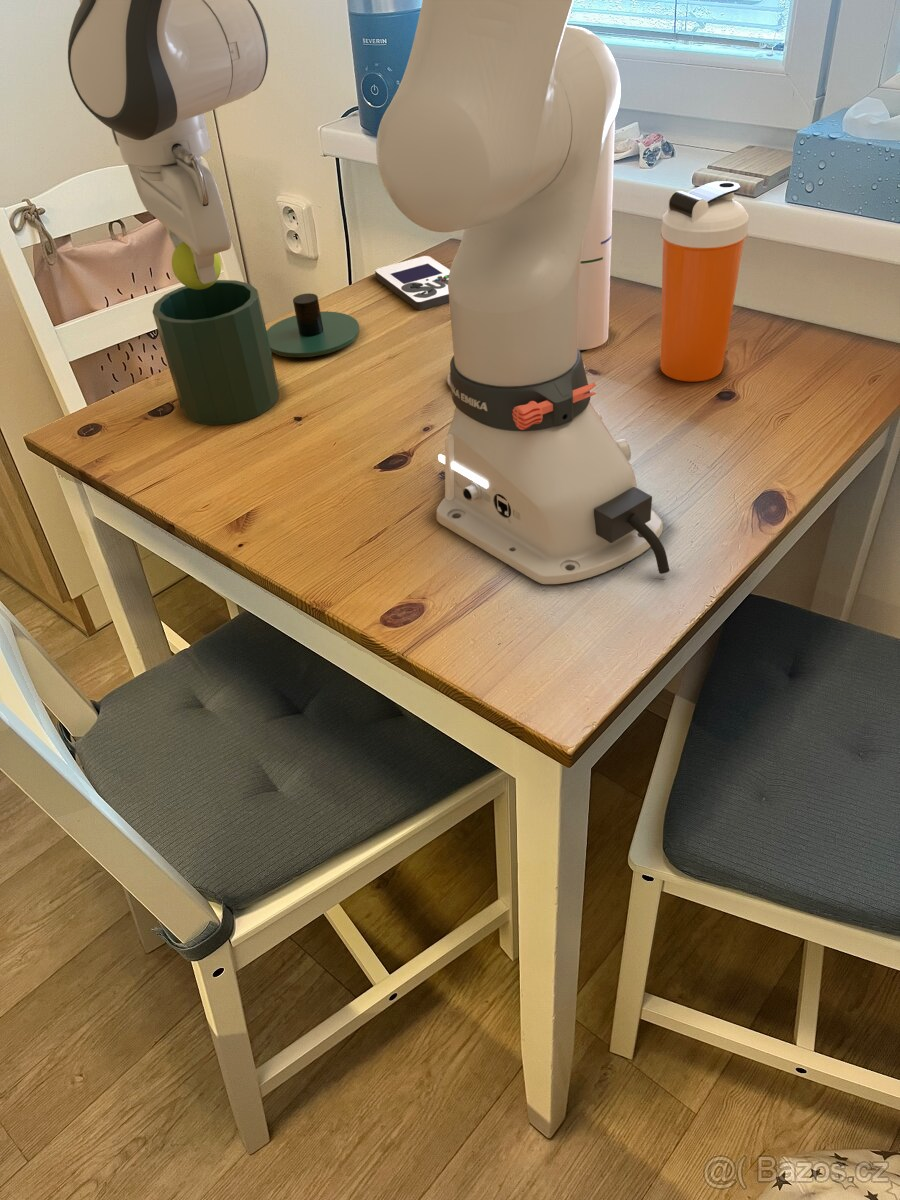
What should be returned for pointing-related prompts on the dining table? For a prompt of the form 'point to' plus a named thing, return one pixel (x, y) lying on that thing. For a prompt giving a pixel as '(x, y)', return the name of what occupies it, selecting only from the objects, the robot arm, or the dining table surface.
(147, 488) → the dining table surface
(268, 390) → the canister
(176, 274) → the ball
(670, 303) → the shaker bottle
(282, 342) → the canister lid
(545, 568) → the robot arm
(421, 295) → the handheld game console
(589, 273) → the cylindrical container
